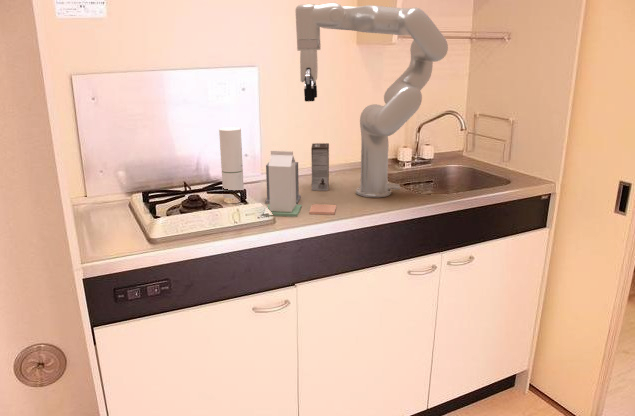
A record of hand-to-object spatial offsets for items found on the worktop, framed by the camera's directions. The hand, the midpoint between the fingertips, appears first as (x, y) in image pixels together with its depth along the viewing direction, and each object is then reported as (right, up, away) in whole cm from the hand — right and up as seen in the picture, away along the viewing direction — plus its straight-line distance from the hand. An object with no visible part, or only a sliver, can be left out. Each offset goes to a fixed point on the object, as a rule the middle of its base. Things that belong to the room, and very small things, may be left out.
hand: (311, 99), depth 177 cm
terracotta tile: (+4, -37, -3) cm, 37 cm away
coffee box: (+3, -28, +24) cm, 38 cm away
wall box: (-10, -33, +8) cm, 36 cm away
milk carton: (-9, -36, -3) cm, 38 cm away
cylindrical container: (-27, -34, +8) cm, 44 cm away
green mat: (-9, -37, -3) cm, 38 cm away
